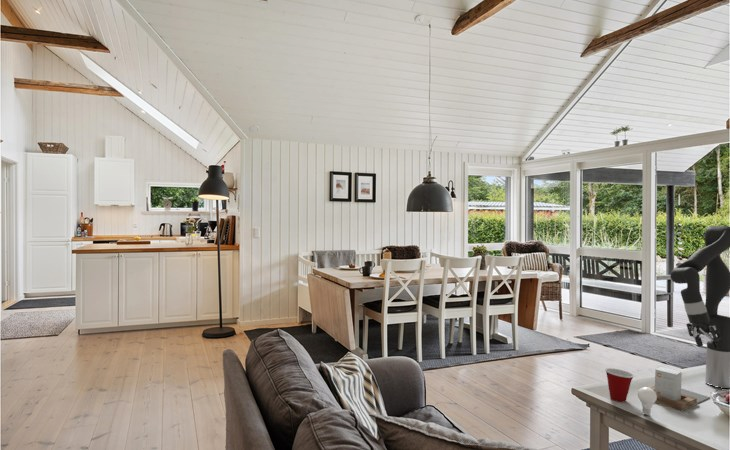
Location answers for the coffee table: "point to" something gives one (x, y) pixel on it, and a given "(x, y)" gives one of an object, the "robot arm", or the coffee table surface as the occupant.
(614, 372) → the plastic cup
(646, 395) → the lightbulb
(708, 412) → the coffee table surface
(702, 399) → the mat
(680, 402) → the holder
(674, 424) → the coffee table surface
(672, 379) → the small box
